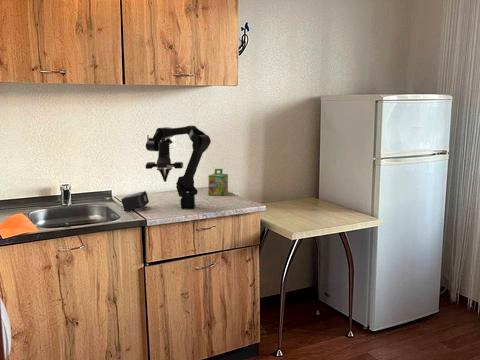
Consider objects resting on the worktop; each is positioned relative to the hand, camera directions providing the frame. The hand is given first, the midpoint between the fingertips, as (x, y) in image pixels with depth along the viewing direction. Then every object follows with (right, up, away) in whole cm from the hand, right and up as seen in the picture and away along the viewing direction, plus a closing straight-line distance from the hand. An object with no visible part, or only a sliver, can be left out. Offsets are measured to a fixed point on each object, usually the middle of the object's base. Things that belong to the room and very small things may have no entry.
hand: (165, 181), depth 243 cm
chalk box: (+27, -8, +27) cm, 39 cm away
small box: (-9, -8, -8) cm, 15 cm away
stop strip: (-11, -14, -7) cm, 19 cm away
